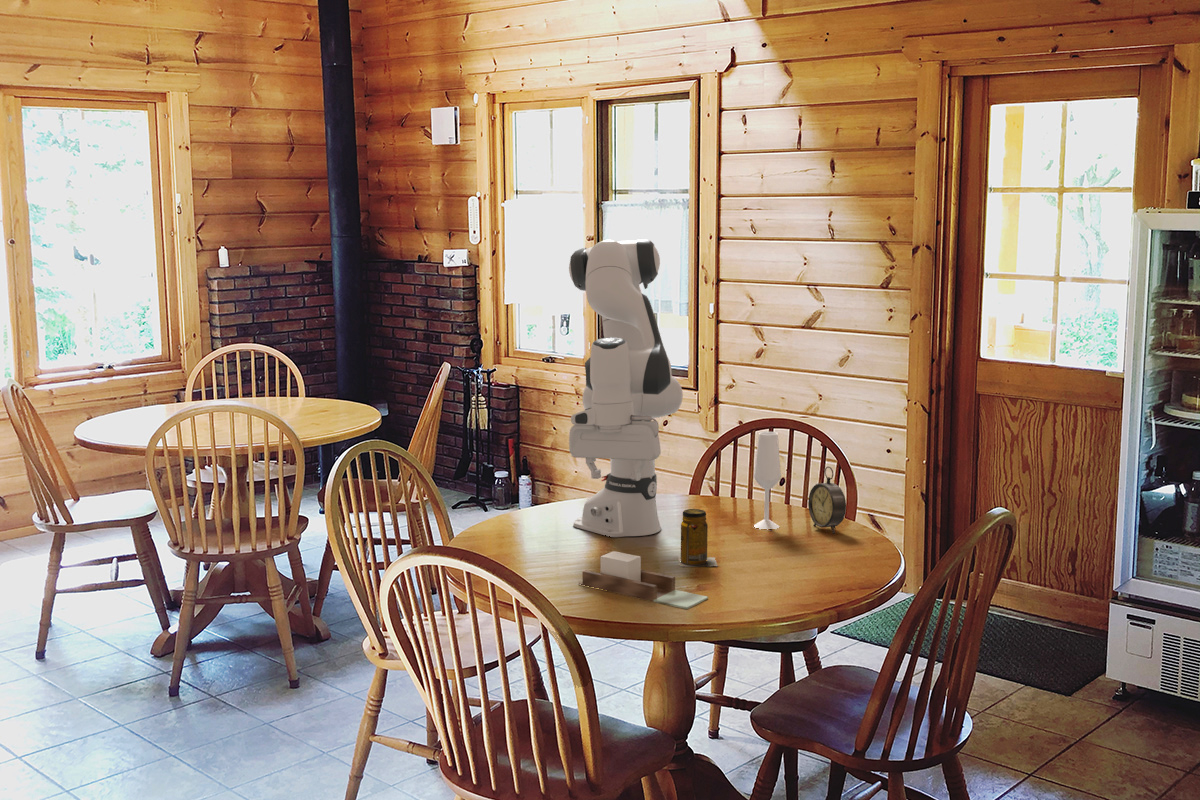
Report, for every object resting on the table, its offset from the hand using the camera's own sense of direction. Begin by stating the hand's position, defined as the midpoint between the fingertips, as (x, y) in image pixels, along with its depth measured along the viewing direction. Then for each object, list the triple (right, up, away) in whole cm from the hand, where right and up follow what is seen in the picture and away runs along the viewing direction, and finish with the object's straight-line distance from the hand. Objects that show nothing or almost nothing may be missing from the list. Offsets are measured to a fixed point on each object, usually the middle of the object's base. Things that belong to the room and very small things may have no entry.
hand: (616, 479), depth 250 cm
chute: (+6, -23, -5) cm, 24 cm away
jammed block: (+1, -22, -1) cm, 22 cm away
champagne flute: (+39, -15, +47) cm, 63 cm away
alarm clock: (+54, -16, +44) cm, 71 cm away
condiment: (+19, -20, +16) cm, 32 cm away
